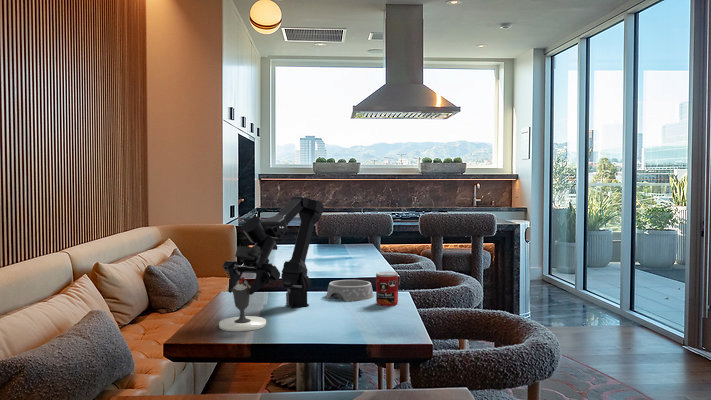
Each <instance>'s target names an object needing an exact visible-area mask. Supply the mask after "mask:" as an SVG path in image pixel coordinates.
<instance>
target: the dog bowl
mask: <svg viewBox="0 0 711 400" xmlns="http://www.w3.org/2000/svg"><path fill="white" fill-rule="evenodd" d="M327 287H328V288H327V291H326V298H327V299H330V298H331V296H332V295H333V297H335V298H339V299H343V301H344V302H358V301H367V300H371V299H373V298H374V297H375V294H374V290H373V287H372V283H371V282H370V281H368V280H362V279H341V280H333V281H330V282H329V284H328V286H327Z"/></svg>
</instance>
